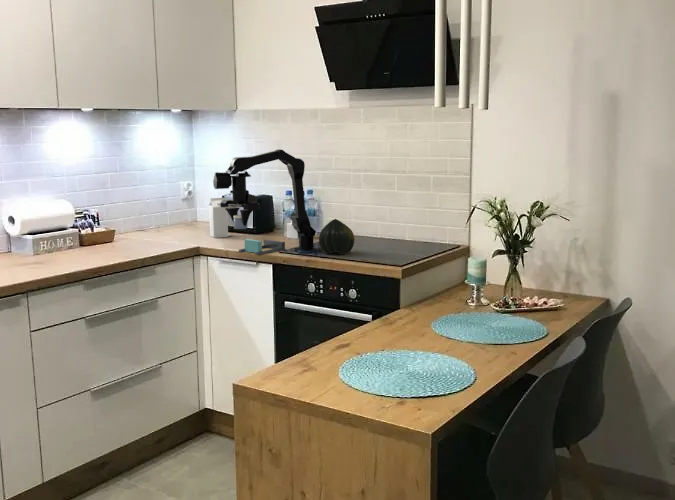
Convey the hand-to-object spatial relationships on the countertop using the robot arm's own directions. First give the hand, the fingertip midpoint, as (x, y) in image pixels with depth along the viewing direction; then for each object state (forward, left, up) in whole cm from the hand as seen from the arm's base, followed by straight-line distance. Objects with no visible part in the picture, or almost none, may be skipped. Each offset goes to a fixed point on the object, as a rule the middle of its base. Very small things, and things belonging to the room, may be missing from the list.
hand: (240, 225), depth 310 cm
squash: (-23, -32, -13) cm, 42 cm away
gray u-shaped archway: (+2, -12, -12) cm, 18 cm away
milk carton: (+51, -17, -13) cm, 55 cm away
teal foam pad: (+1, -7, -12) cm, 14 cm away
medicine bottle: (+23, -45, -13) cm, 52 cm away
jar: (0, 0, -1) cm, 1 cm away
